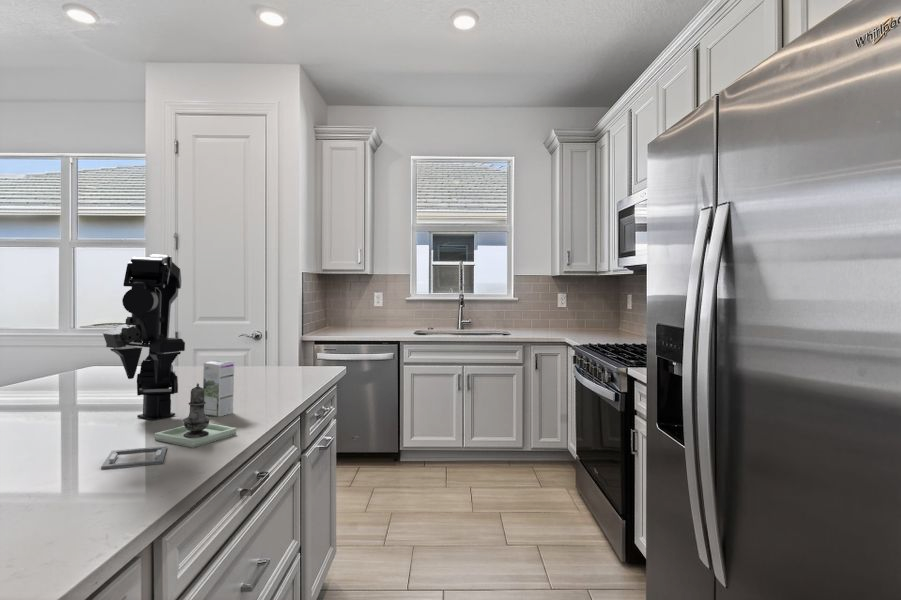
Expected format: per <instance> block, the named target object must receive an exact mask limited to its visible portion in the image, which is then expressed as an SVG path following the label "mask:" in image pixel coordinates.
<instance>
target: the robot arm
mask: <svg viewBox="0 0 901 600" xmlns="http://www.w3.org/2000/svg"><path fill="white" fill-rule="evenodd" d="M181 273H182V272H181V268H180V267H179V266H178V265H177V264H175V263H174V262H173V258H172V256H171V255H170V254H169V255H168V254H155V253H153V254H150V255H149V256H148V257H141V256H140V257H138V256H137V257H136V256H133V257H131V259H130V261H127V264H126V270H125V273H124V278H123V285H122V286H123V287H130V289H128V290H127V291H126V292H125V293H124V295H123V296H122V299H121V300H122V306H123V308H124V309H125V311H127V312H128V313H130V314H131V316H126V317H127V318H126V319H125V324H122V325H117V326H115V327H113V328H111V329H108V330H106V331H104V332H102V335H103V337H104V341H105V343H106V344H105V345H106V348H110V349H109V350H110V351H111V352H113V353H115V354H116V355H118V357H119V358H120V361H121V363H122V366H123V369H124V371H125V374H126V376H127V379H128V380H133V379H134V377H135V376H136V389H137V392H136V394H137V396H143V397H142V398H143V401H142V413H141V414H137V416H136V417H137V418H141V419H146V420H152V421H156V420H159V419H160V420H161V419H164V418H168V417H172V416H175V415H176V413H175V412H172V399H171V397H172V395H175V394H178V393H179V382H178V381H179V379H178V375H177V374H176V371H175V370H174V365H173V362H174V361H175V360H176V358H177V357H178V355H181V353H182V352H184V351H186V342H185V341H184V339H182V338H179V337H169V334H170V322H171V307H172V304H173V303H174V301H175V300H176V299H177V298H178V296H179V290H180V289H181V288H182V274H181ZM143 348H149V349H148V355H147V356H146V358H145V359H143V360H142V362H141V363H140V369H139V371H138V372H137V369H138V365H139V362H140V357H141V355H142V351H143ZM136 372H137V375H136Z"/></svg>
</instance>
